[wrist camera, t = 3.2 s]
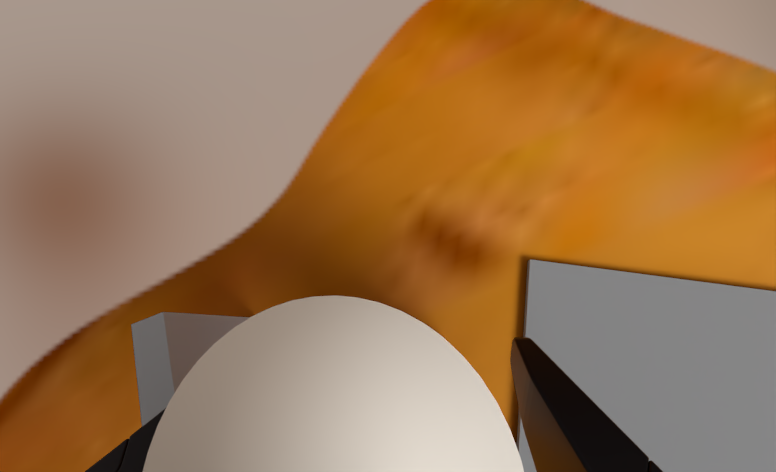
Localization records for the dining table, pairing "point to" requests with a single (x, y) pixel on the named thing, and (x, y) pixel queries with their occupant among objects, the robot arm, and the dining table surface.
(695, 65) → the dining table surface
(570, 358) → the slate mat
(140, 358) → the screen
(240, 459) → the white rounded cylinder
